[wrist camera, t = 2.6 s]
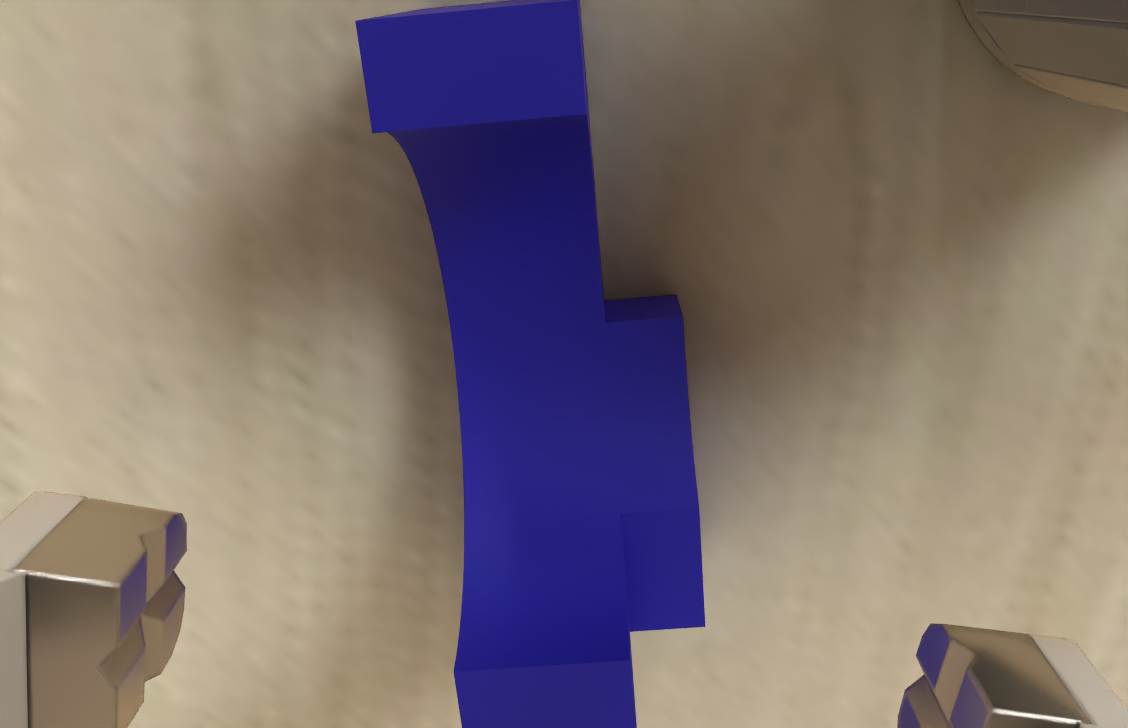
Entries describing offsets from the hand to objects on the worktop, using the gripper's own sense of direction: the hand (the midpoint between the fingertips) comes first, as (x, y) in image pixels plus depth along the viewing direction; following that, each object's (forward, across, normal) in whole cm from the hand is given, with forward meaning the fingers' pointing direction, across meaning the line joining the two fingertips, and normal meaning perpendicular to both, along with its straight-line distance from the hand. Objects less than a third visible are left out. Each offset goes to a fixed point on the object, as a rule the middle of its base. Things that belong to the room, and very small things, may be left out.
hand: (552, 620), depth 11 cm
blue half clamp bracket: (+11, 0, 0) cm, 11 cm away
